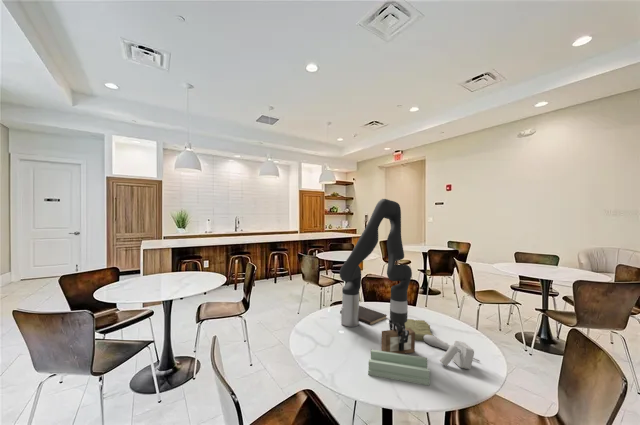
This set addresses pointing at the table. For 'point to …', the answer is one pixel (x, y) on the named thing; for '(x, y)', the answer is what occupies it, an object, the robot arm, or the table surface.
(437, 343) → the screwdriver
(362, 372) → the table surface
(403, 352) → the wooden picture frame
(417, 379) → the pale green channel holder
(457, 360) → the wall hook
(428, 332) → the decorative tile
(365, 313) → the hardcover book
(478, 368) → the table surface
